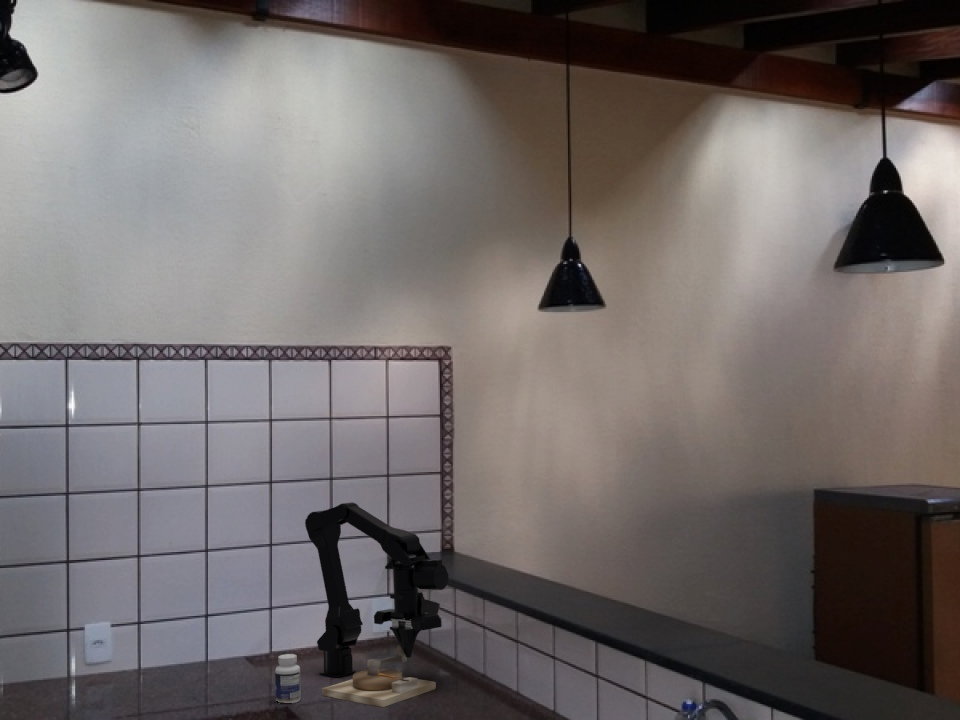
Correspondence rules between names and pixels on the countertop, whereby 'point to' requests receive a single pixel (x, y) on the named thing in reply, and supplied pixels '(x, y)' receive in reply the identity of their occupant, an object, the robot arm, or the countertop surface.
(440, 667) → the countertop surface
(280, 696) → the pill bottle
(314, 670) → the countertop surface
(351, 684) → the stand
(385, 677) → the crank handle
